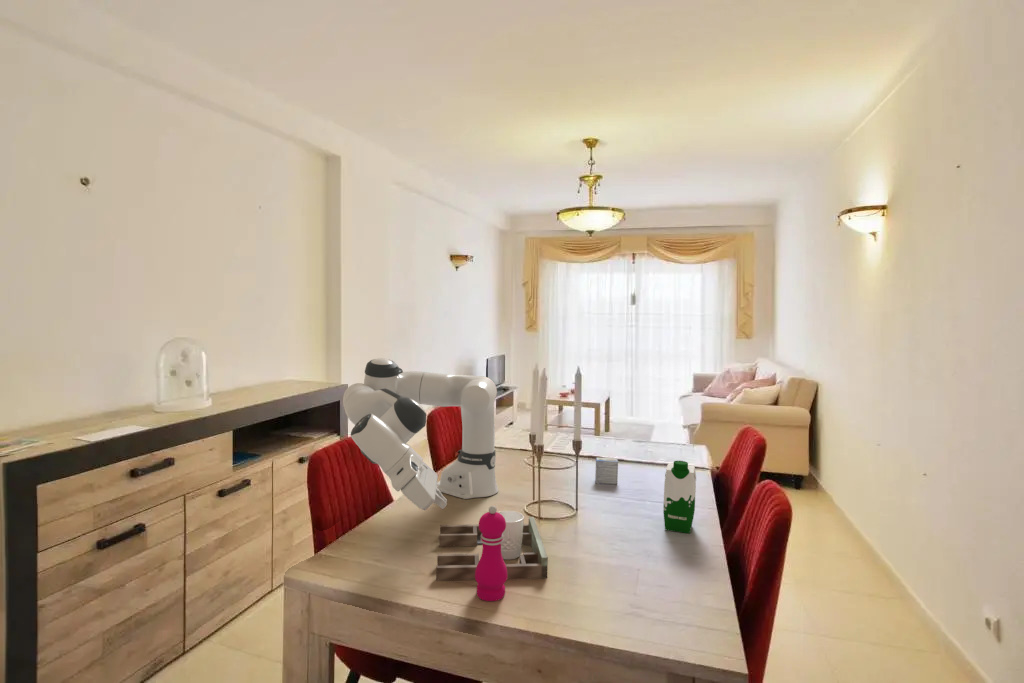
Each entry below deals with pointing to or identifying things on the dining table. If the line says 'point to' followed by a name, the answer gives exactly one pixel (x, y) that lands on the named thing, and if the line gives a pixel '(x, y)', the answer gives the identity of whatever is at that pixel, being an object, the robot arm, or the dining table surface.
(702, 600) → the dining table surface
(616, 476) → the medicine box
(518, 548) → the white cup
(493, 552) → the pepper mill
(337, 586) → the dining table surface
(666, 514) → the milk carton
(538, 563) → the organizer tray
